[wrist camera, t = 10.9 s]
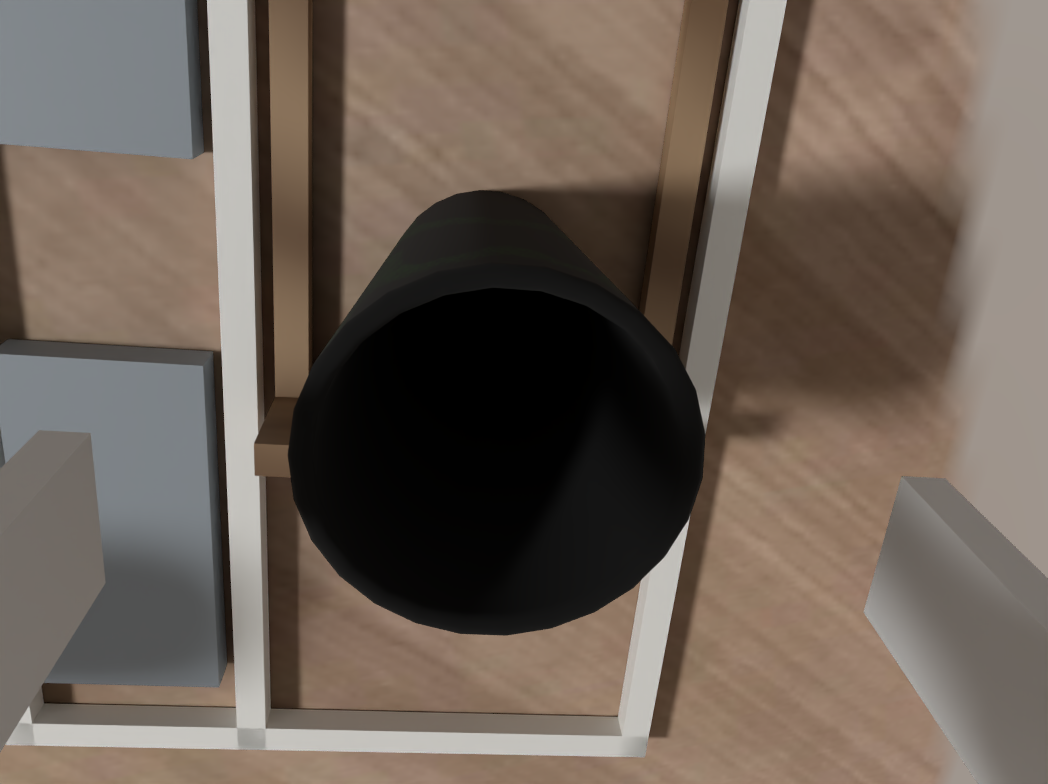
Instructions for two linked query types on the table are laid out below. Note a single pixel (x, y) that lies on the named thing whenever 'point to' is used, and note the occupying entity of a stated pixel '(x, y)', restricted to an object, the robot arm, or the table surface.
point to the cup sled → (295, 196)
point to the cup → (494, 429)
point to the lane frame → (193, 480)
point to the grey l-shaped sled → (102, 76)
